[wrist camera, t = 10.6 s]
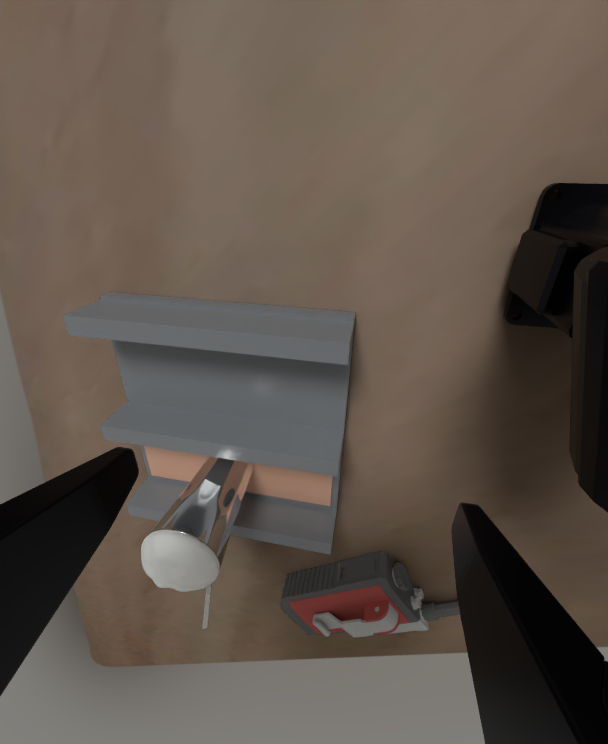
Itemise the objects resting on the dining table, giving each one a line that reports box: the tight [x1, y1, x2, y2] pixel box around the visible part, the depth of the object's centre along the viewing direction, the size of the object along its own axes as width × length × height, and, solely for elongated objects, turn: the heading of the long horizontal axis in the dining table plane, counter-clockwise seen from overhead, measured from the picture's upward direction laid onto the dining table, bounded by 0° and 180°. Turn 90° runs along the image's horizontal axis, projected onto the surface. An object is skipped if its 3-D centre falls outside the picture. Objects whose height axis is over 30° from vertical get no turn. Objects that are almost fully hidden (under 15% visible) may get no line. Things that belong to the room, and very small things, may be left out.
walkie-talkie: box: [280, 552, 460, 638], centre depth 30 cm, size 9×4×20 cm
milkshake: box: [141, 456, 253, 629], centre depth 22 cm, size 4×5×10 cm
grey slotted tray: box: [63, 292, 356, 555], centre depth 24 cm, size 16×17×4 cm
